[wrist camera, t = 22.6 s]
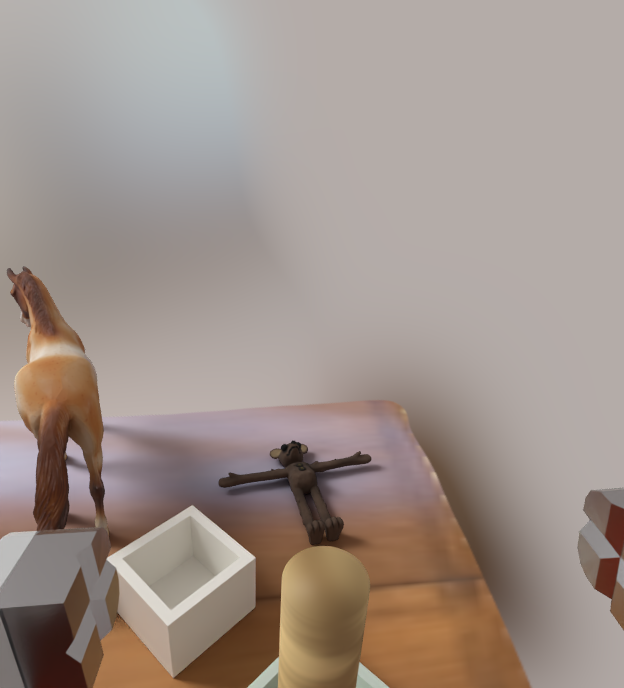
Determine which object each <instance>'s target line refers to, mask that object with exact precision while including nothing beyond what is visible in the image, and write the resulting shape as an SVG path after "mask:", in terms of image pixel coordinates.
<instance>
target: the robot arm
mask: <svg viewBox="0 0 624 688" xmlns="http://www.w3.org/2000/svg"><path fill="white" fill-rule="evenodd" d="M583 510H584V512H585V513H586V515H587V516H588V517H589V519H590V521H589V522H588V523H587V524H586V525H585V526H584V527H583V528H582V529H581V530H580V533H579V541H578V552H579V558H580V563H581V566H582V568H583V570H584V573H585V575H586V577H587V579H588V580H589V581H590V583H591V584H592V586H593V587H594V589H596V590H597V591H599V592H600V593H602V594H604V595H606V596H607V597H609V598H611V599H612V601H611V610H610V611H611V613H612V614H613V616H614V617H615V619H616V620H617V621H618V623H619V624H620V626H621V627H622V628H623V630H624V488H614V489H602V490H591V491H590V492H589V494H588V495H587V497H586V499H585V504H584V509H583ZM110 549H111V543H110V540H109V536H108V532H107V530H105V529H104V528H102V527H96V528H77V529H58V530H42V531H29V532H13V533H9V534H7V535H6V536H4V537H2V539H1V540H0V688H93V685H94V682H95V679H96V676H97V673H98V670H99V667H100V664H101V661H102V658H103V655H104V654H103V650H102V646H101V642H100V640H101V639H102V638H104V637H105V636H106V635H107V634H108V633H109V632H110V631H111V630H112V628H113V625H114V622H115V619H116V615H117V611H118V603H119V595H120V593H119V579H118V574H117V569H116V567H114V566H113V565H112V564H111V563H110V562H109V561H107V560H106V559H107V557H108V554H109V552H110Z"/></svg>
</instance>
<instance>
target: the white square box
mask: <svg viewBox="0 0 624 688" xmlns="http://www.w3.org/2000/svg"><path fill="white" fill-rule="evenodd" d="M106 560H107V561H109V562H110V563H111V564H112V565H113V566H114V567H116V569H117V574H118V579H119V593H120V595H119V603H118V611H117V612H118V614H119V615H120V616H121V617H122V618H123V619H124V621H125V622H126V623H127V624H128V625H129V627H130V628H131V629H132V630H133V631H134V632H135V634H136V635H137V636H138V637H139V638H140V640H141V641H142V642H143V643H144V644H145V645H146V647H147V648H148V649H149V650H150V651H151V652H152V654H153V655H154V656H155V657H156V658H157V660H158V661H159V662H160V663H161V664H162V665H163V667H164V668H165V669H166V670H167V671H168V672H169V674H170V675H171V676H172V677H173V678H174V677H175V676H176V675H177V674H179V673H180V672H181V671H182V670H183V669H184V668H186V667H187V666H188V665H189V664H190V663H191V662H193V661H194V660H195V659H196V658H197V657H198V656H200V655H201V654H202V653H203V652H204V651H205V650H206V649H208V648H209V647H210V646H211V645H212V644H213V643H215V642H216V641H217V640H218V639H219V638H220V637H222V636H223V635H224V634H225V633H226V632H227V631H229V630H230V629H231V628H232V627H233V626H234V625H235V624H237V623H238V622H239V621H240V620H241V619H242V618H244V617H245V616H246V615H247V614H248V613H249V612H251V611H252V610H253V609H254V608H255V593H256V558H255V557H254V556H253V555H252V554H251V553H249V552H248V551H247V550H246V549H245V548H243V547H242V546H241V545H240V544H239V543H237V542H236V541H235V540H234V539H233V538H231V537H230V536H229V535H228V534H227V533H225V532H224V531H223V530H222V529H220V528H219V527H218V526H217V525H216V524H214V523H213V522H212V521H211V520H210V519H208V518H207V517H206V516H205V515H204V514H202V513H201V512H200V511H199V510H198V509H196V508H195V507H194V506H193V505H192V506H190V507H189V508H187V509H185V510H184V511H182V512H181V513H179V514H177V515H176V516H174V517H172V518H171V519H169V520H168V521H166V522H164V523H163V524H161V525H160V526H158V527H156V528H155V529H153V530H151V531H150V532H148V533H147V534H145V535H143V536H142V537H140V538H139V539H137V540H135V541H134V542H132V543H131V544H129V545H127V546H126V547H124V548H122V549H121V550H119V551H118V552H116V553H114V554H113V555H111V556H110V557H108V558H107V559H106Z"/></svg>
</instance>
